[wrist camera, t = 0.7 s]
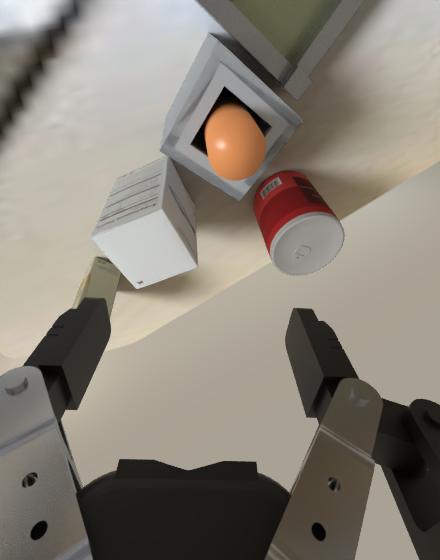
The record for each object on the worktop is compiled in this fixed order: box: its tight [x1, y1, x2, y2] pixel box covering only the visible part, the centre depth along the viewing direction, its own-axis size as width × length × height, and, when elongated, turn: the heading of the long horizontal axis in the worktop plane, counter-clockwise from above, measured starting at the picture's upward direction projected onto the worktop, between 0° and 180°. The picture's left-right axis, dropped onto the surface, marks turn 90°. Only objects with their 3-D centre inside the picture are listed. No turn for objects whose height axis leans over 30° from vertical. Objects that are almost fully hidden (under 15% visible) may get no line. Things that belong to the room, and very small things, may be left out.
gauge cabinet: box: [160, 33, 304, 201], centre depth 25 cm, size 8×8×10 cm
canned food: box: [254, 171, 344, 276], centre depth 32 cm, size 8×8×11 cm
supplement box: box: [90, 156, 198, 289], centre depth 30 cm, size 7×7×13 cm
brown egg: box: [203, 97, 266, 181], centre depth 21 cm, size 4×4×6 cm
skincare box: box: [72, 257, 121, 319], centre depth 38 cm, size 6×4×12 cm
